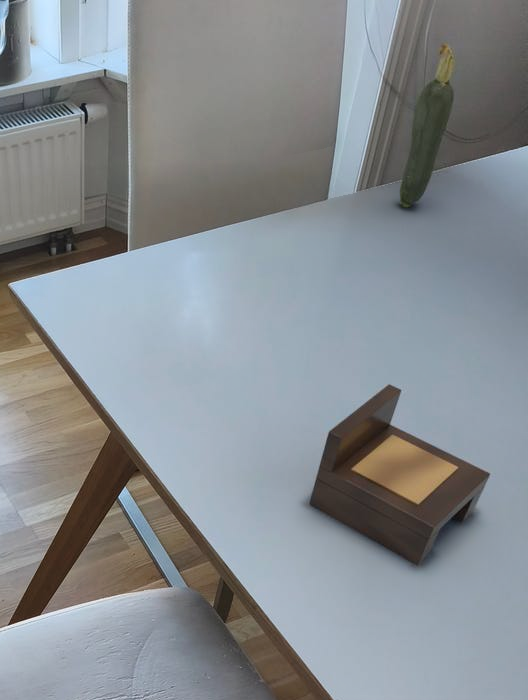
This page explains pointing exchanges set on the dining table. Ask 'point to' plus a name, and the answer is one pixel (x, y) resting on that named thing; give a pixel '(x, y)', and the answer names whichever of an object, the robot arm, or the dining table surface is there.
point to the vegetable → (428, 130)
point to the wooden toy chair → (392, 481)
